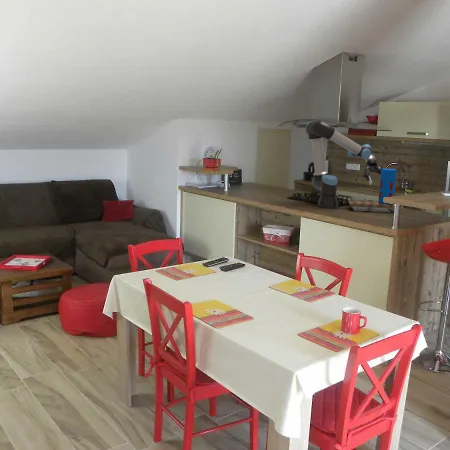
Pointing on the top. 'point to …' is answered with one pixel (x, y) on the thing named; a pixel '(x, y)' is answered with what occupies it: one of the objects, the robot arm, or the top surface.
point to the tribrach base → (370, 209)
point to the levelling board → (368, 203)
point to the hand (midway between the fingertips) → (379, 183)
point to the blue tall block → (387, 184)
